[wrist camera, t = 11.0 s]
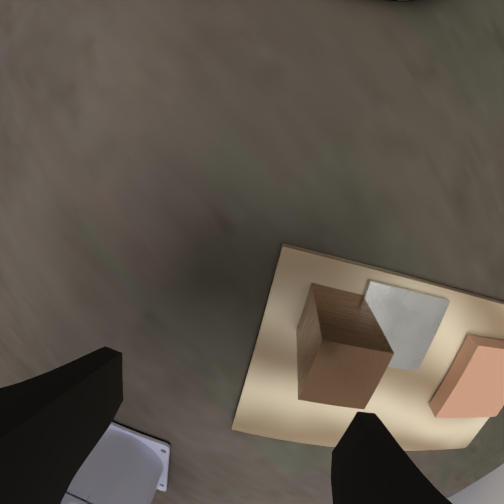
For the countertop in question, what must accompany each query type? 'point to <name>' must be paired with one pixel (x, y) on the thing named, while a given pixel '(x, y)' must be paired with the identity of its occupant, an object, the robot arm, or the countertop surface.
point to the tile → (473, 381)
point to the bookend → (361, 339)
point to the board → (391, 384)
